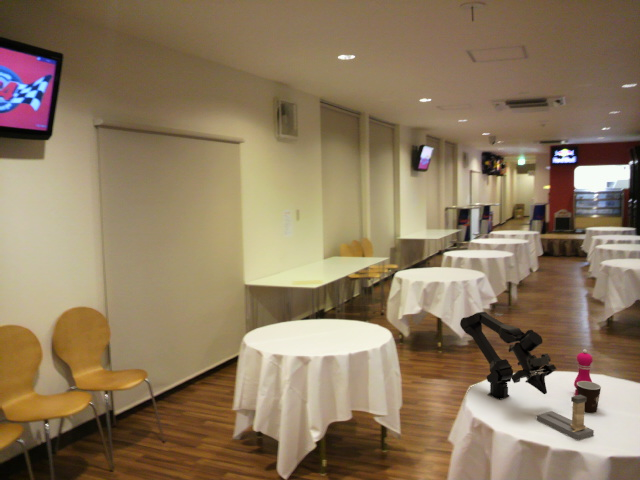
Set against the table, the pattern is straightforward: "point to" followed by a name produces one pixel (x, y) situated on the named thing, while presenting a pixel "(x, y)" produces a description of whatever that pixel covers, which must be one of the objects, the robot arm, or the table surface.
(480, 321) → the robot arm
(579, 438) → the fader console
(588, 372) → the pepper mill
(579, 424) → the fader lever
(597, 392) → the coffee mug
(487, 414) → the table surface
